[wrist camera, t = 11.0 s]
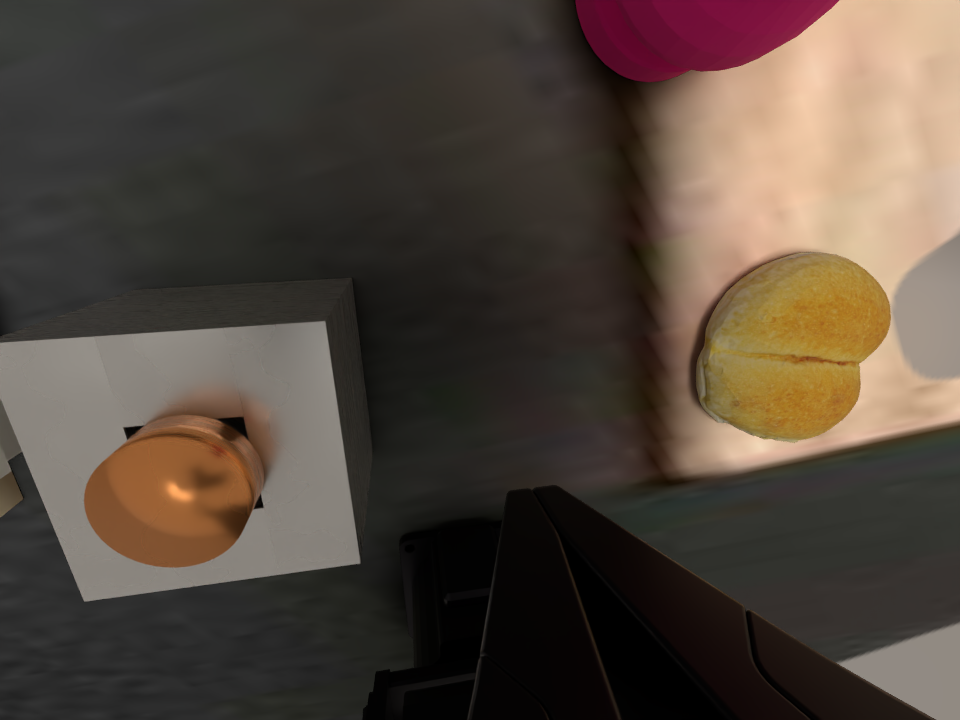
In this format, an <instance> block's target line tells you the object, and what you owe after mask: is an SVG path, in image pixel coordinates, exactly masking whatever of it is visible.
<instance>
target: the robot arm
mask: <svg viewBox="0 0 960 720" xmlns="http://www.w3.org/2000/svg"><path fill="white" fill-rule="evenodd" d="M409 544H412V545H413V546H411V547H407V546H406V545H409ZM399 550H400V559H401V568H402V578H403V587H404V596H405V605H406V614H407V623H408V632H409V636H410V637H412V638H413V643H414V668H410V669H405V670H399V671H393V672H390V669H389V670H383V671H377V672H376V674H375V682H374V689H373V692H370V693H369V698H368V705H367V706H366V707H365V708H364V709H363V720H936V719H934V718H932V717H930V716H928V715H927V714H925V713H923V712H921V711H919V710H918V709H916V708H914V707H912V706H911V705H909V704H907V703H905V702H903V701H902V700H900V699H898V698H896V697H894V696H893V695H891V694H889V693H887V692H885V691H884V690H882V689H880V688H879V687H877V686H875V685H873V684H872V683H870V682H868V681H866V680H865V679H863V678H861V677H859V676H858V675H856V674H854V673H852V672H851V671H849V670H847V669H846V668H844V667H842V666H840V665H839V664H837V663H835V662H833V661H832V660H830V659H828V658H827V657H825V656H823V655H822V654H820V653H818V652H817V651H815V650H814V649H812V648H810V647H809V646H807V645H806V644H804V643H802V642H801V641H799V640H797V639H796V638H794V637H793V636H791V635H789V634H788V633H786V632H785V631H783V630H781V629H780V628H778V627H777V626H775V625H773V624H772V623H770V622H769V621H767V620H766V619H764V618H763V617H761V616H759V615H758V614H756V613H755V612H753V611H752V610H747V611H746V609H745V607H744V606H743V605H742V604H740V603H739V602H737V601H736V600H734V599H733V598H731V597H730V596H728V595H726V594H725V593H723V592H722V591H720V590H719V589H717V588H716V587H714V586H713V585H711V584H709V583H708V582H706V581H705V580H703V579H702V578H700V577H699V576H697V575H695V574H694V573H692V572H691V571H689V570H688V569H686V568H685V567H683V566H681V565H680V564H678V563H677V562H675V561H674V560H672V559H671V558H669V557H667V556H666V555H664V554H663V553H661V552H660V551H658V550H657V549H655V548H653V547H652V546H650V545H649V544H647V543H646V542H644V541H643V540H641V539H639V538H638V537H636V536H635V535H633V534H632V533H630V532H629V531H627V530H625V529H624V528H622V527H621V526H619V525H618V524H616V523H615V522H613V521H612V520H610V519H608V518H607V517H605V516H604V515H602V514H601V513H599V512H598V511H596V510H594V509H593V508H591V507H590V506H588V505H587V504H585V503H584V502H582V501H580V500H579V499H577V498H576V497H574V496H573V495H571V494H570V493H568V492H566V491H565V490H563V489H562V488H560V487H558V486H556V485H551V486H543V487H536V488H534V489H533V490H531V489H528V488H527V489H519V490H511V491H509V492H508V493H507V496H506V502H505V507H504V513H503V519H502V522H501V523H494V524H486V525H478V526H471V527H463V528H456V529H448V530H440V531H433V532H425V533H418V534H410V535H406V536H404V537H403V538H402V539H401V540H400V546H399Z"/></svg>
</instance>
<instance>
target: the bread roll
mask: <svg viewBox="0 0 960 720" xmlns="http://www.w3.org/2000/svg"><path fill="white" fill-rule="evenodd" d="M890 320H891V315H890V305H889V301H888V298H887V295H886V293H885V292H884V290H883V289H882V287H881V286H880V284H879V283H878V282H877V281H876V280H875V278H874V277H873V276H871V275H870V274H869V273H868V272H867V271H866V270H865V269H863V268H862V267H861V266H859V265H858V264H856V263H854V262H852V261H851V260H849V259H847V258H844V257H841V256H838V255H833V254H827V253H816V252H806V253H797V254H793V255H790V256H786V257H783V258H780V259H777V260H774V261H772V262H769V263H767V264H765V265H762V266H761V267H759V268H757V269H756V270H754V271H753V272H751V273H750V274H748V275H746V276H745V277H743V278H742V279H741V280H739V281H738V282H737V283H736V284H735V285H734V286H733V287H731V288H730V289H729V290H728V291H727V292H726V294H725V295H724V297H723V298H722V299H721V300H720V301H719V303H718V305H717V306H716V308H715V310H714V311H713V313H712V316H711V318H710V320H709V323H708V325H707V328H706V333H705V345H704V347H703V349H702V351H701V353H700V355H699V357H698V360H697V367H696V388H697V392H698V397H699V401H700V403H701V405H702V407H703V409H704V410H705V411H706V412H707V413H708V414H709V415H710V416H711V417H713V418H714V420H715V421H717V422H718V423H728V424H731V425H732V426H734V427H736V428H738V429H739V430H742V431H744V432H746V433H748V434H750V435H753V436H757V437H760V438H762V439H774V440H778V441H787V442H792V443H795V442H798V440H803V439H808V438H812V437H815V436H817V435H820V434H822V433H824V432H826V431H827V430H829V429H831V428H832V427H833V426H835V425H836V424H837V423H839V422H840V421H841V420H843V419H844V418H845V417H846V416H847V414H848V413H849V412H850V411H851V410H852V408H853V407H854V405H855V404H856V402H857V400H858V397H859V392H860V367H859V363H861V362H862V361H864V360H865V359H866V358H867V357H868V356H869V355H870V354H871V353H873V352H874V351H875V350H876V349H877V348H878V346H879V345H880V344H881V343H882V341H883V340H884V338H885V337H886V335H887V333H888V330H889V326H890Z"/></svg>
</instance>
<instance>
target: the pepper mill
mask: <svg viewBox="0 0 960 720" xmlns="http://www.w3.org/2000/svg"><path fill="white" fill-rule="evenodd" d="M838 1H839V0H575V2H576V8H577V13H578V18H579V21H580V24H581V27H582V30H583V32H584V34H585V37H586V39H587V41H588V42H589V44H590V46H591V47H592V49H593V51H594V52H595V54H596V55H597V56H598V57H599V58H600V59H601V60H602V62H603V63H604V64H605V65H607V66H608V67H609V68H611V69H612V70H613V71H615V72H616V73H618V74H620V75H622V76H624V77H626V78H629V79H632V80H635V81H642V82H659V81H664V80H668V79H670V78H673V77H676V76H678V75H681V74H683V73H685V72H687V71H689V70H696V71H719V70H725V69H729V68H733V67H738V66H741V65H744V64H746V63H749V62H751V61H753V60H756V59H758V58H760V57H761V56H763V55H765V54H767V53H769V52H770V51H772V50H774V49H776V48H777V47H779V46H781V45H783V44H784V43H786V42H788V41H790V40H791V39H793V38H795V37H797V36H798V35H799V34H801V33H802V32H803V31H804V30H805V29H807V28H808V27H809V26H810V25H812V24H813V23H814V22H815V21H816V20H818V19H819V18H820V17H821V16H823V15H824V14H825V13H826V12H827V11H829V10H830V9H831V8H832V7H833V6H834V5H835V4H836V3H837V2H838Z"/></svg>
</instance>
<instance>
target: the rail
mask: <svg viewBox="0 0 960 720" xmlns="http://www.w3.org/2000/svg"><path fill="white" fill-rule="evenodd" d="M21 500H23V497H22V494H21V492H20V490H19V487H18V485H17V483H16V480H15V478H14V476H13V473H12V471H11V472H9V473H8V474H7V475H5V476H4V477H2V478H1V479H0V517H1V516H3V515H4V514H5V513H6V512H8V511H9V510H10V509H11V508H13V507H14V506H15V505H16V504H18V503H19V502H20V501H21Z"/></svg>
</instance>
